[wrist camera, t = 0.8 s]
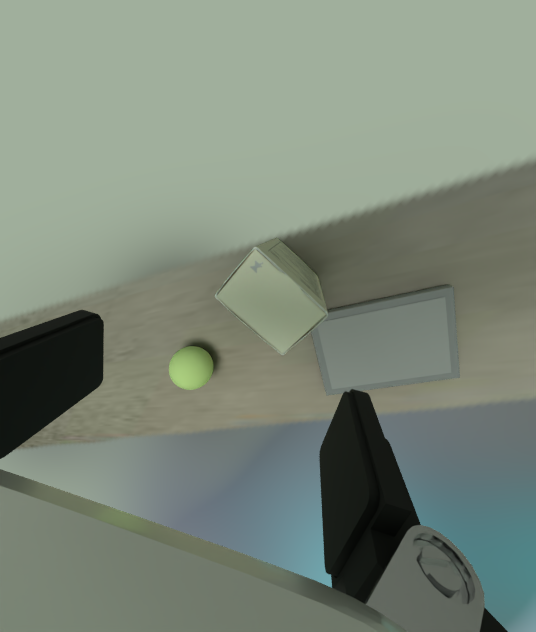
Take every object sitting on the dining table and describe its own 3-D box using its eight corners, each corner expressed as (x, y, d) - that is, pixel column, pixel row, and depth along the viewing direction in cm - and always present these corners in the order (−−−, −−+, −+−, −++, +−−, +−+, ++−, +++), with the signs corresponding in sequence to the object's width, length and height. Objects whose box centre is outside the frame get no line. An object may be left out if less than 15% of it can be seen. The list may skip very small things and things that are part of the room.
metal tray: (448, 284, 25) (454, 286, 24) (454, 372, 28) (460, 377, 27) (307, 314, 28) (307, 317, 27) (326, 390, 31) (326, 396, 30)
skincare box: (250, 267, 27) (207, 293, 16) (277, 235, 26) (251, 240, 14) (293, 307, 28) (281, 360, 17) (321, 278, 27) (331, 315, 15)
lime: (221, 345, 31) (206, 366, 26) (216, 379, 33) (200, 403, 28) (183, 334, 31) (161, 353, 27) (180, 368, 33) (158, 391, 28)
